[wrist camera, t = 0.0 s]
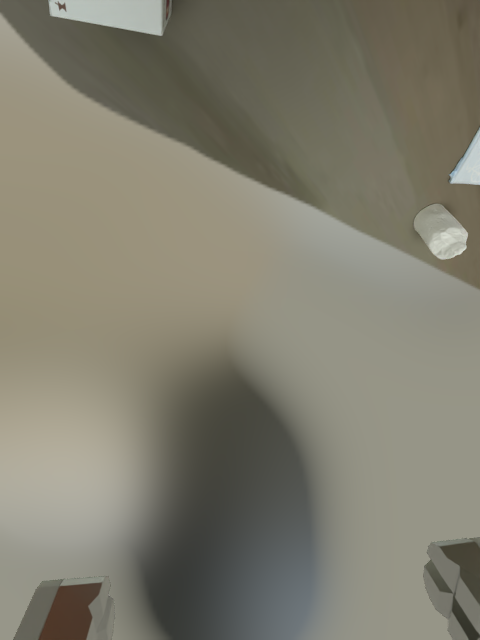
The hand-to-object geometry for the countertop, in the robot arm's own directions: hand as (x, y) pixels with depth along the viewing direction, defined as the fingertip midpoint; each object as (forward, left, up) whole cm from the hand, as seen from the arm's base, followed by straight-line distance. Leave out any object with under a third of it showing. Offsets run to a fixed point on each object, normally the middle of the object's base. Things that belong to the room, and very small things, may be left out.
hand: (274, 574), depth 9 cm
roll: (+39, +24, -55) cm, 71 cm away
